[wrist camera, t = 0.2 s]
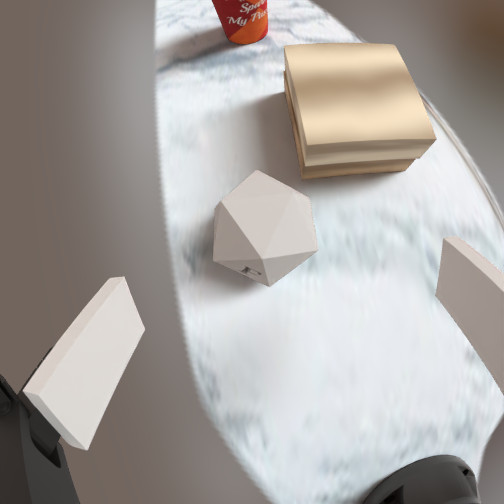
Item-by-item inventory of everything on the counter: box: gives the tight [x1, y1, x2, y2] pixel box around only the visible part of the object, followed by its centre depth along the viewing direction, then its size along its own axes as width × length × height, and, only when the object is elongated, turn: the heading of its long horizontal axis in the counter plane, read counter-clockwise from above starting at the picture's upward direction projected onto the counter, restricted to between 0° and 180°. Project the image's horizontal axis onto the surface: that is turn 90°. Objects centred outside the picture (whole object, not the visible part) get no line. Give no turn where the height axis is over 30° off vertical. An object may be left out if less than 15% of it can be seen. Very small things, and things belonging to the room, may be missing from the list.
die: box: [213, 170, 318, 287], centre depth 24 cm, size 8×9×10 cm
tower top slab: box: [284, 43, 436, 166], centre depth 23 cm, size 11×11×4 cm
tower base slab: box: [283, 71, 415, 180], centre depth 27 cm, size 11×11×4 cm
